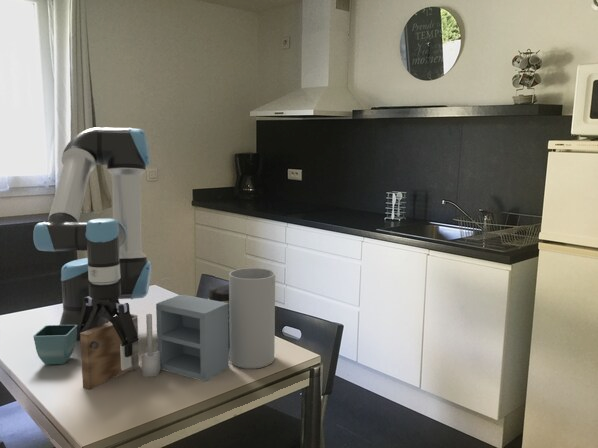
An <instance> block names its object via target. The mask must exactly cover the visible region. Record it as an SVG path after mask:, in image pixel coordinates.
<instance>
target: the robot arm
mask: <svg viewBox="0 0 598 448" xmlns="http://www.w3.org/2000/svg"><path fill="white" fill-rule="evenodd" d="M149 147H150V145H149V142H148V137H147V134H146V132H145V131H144V129H142V128H134V127H133V128H132V127H91V128H88V129H85V130H82V131H81V132H80V133H78V134H76V135H75V136H74V137H73V138H72V139H71V140H70V141H69V142H68V143H67V145H66V146H65V148H64V150H63V151H62V155H61V163H62V169H61V172H60V176H59V179H58V183H57V186H56V190H55V194H54V197H53V200H52V204H51V207H50V211H49V214H48V219H47V221H43V222H38V223H36V224H35V225H34V227H33V228H34V229H33V232H32V233H33V235H32V236H33V237H32V238H33V244H34V247H35V249H37V251H42V252H54V253H55V252H67V251H68V252H71V251H73V252H74V251H81V252H82V251H84V252H85V251H86V255H87V257H85V258H79V259H75V260H71V261H69V262H67V263H65V264H64V265H62V267H61V270H60V271H61V274H60V275H61V276H60V281H61V293H62V297H61V299H62V313H61V317H60V321H59V322H60V323H59V325H77V338H76V341H81V339H80V333H82V332H84V331H87V330H90V329H93V328H95V327H98V326H101V325H103V324H106V323H109V322H111V323H112V324H113V326H114V328H115V330H116V332H117V334H118V336H119V338H120V339H121V341H122V343H123V344H121V345H120V355H121V370H125V369H127V368H129V367H131V356H132V343H135V342H137V341H138V342H139V334H138V335H137V332H136V329H135V326H134V323H133V320H132V317H131V310H130V304H129V303H128V302H125V303H120V300H134V299H135V300H136V299H143V298H145V297H147V295H148V294H149V290H150V285H151V279H152V267H153V266H152V262H151V261H150V260H148V261H147V259H148V258H147V255H146V254H145V253H144V252H143V249H142V246H143V245H142V244H143V243H142V242H143V241H142V189H141V188H142V185H141V184H142V180H141V179H142V178H141V177H142V176H143V174H144V173H146V171H147V170H146V166H147V167H148V166H150V165H151V153H150V148H149ZM97 165H98V166H99V165H102V166H106V171H107V172H108V173H109V174H110V175H111V177H112V179H111V180H112V218H108V217H107V218H93V219H90V220H88V221H80V218H81V217H80V216H81V213H82V209H83V204H84V199H85V195H86V191H87V187H88V182H89V179H90V174H91V172H93V170H94V169H95V168H96V166H97ZM126 338H127V340H126Z"/></svg>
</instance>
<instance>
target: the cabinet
mask: <svg viewBox="0 0 598 448" xmlns="http://www.w3.org/2000/svg"><path fill="white" fill-rule="evenodd" d="M155 308H156V310H155V312H156V314H155V315H156V317H155V318H156V341H157V345H156V349H157V350H156V351H154V343H153V342H154V341H153V315H152V313H146V316H145V318H146V320H145V321H146V351H147V352H145V353H142V354H141V357H140V358H141V376H143V377H144V378H145V377H146V378H153V377H155V376H158V375H160V370H162V371H166V372H170V373H173V374H177V375H180V376H184V377H188V378H190V379H195V380H197V381H198V380H199V381H202V382H208V381H209V380H211V379H213V378H214V377H216V376H217V375H219V374H220V373H221V372H223V371H225V370H227V369H229V367H230V366H229V365H230V363H229V361H230V348H229V329H228V303H225V302H220V301H214V300H209V299H208V298H203V297H197V296H193V295H186V294H178V295H176V296H173V297H171V298H166V299H165V300H162V301H159V302H157V303H155Z"/></svg>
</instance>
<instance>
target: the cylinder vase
mask: <svg viewBox="0 0 598 448" xmlns="http://www.w3.org/2000/svg"><path fill="white" fill-rule="evenodd" d="M228 274H229V275H228V276H229V277H228V282H229V283H228V285H229V340H230V348H229V361H230V363H231V364H232V365H234V366H235V367H238V368H242V369H248V370H249V369H251V370H254V369H260V368H265V367H268V366H269V365H270V364H272V363H273V362H274V361H275V342H276V340H275V338H276V337H275V334H276V332H275V331H276V330H275V329H276V327H275V325H276V272H275V271H274V270H271V269H267V268H262V267H261V268H259V267H248V268H247V267H244V268H238V269H237V268H236V269H234V270H232V271H230V272H229V273H228Z"/></svg>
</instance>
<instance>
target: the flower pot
mask: <svg viewBox="0 0 598 448" xmlns="http://www.w3.org/2000/svg"><path fill="white" fill-rule="evenodd" d="M76 338H77V325H60V324H57V325H56V324H52V325H51V324H50V325H48V324H47V325H45V326H43V327H42V328H41V329H39V331H37V332H36V333H35V334H33V341H34V345H35V349H36V354H37V356H38V358H39V359H40V360H41V362H42V363H43V364H45V365H64V364H65V363H67V362H68V360H69V359H70V358H71V357H72V354H73V353H74V349H75V347H76V343H77V340H76Z"/></svg>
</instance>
